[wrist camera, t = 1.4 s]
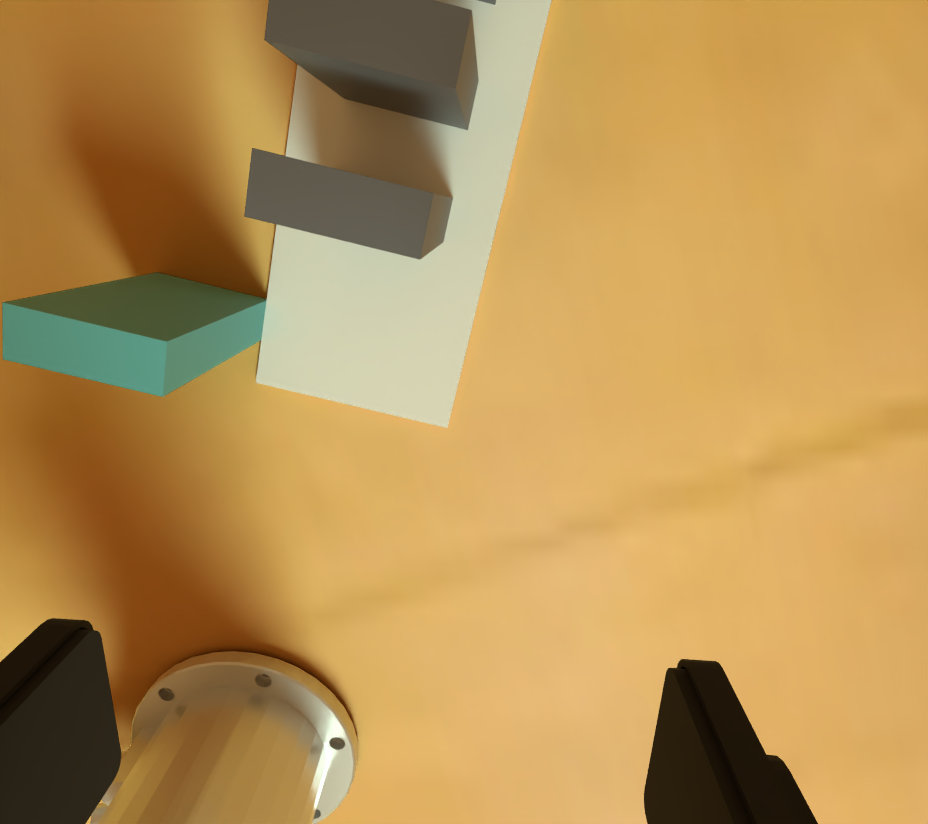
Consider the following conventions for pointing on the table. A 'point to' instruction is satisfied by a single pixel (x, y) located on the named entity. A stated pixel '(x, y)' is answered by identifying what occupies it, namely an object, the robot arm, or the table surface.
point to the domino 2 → (384, 52)
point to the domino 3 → (345, 205)
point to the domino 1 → (133, 331)
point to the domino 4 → (489, 1)
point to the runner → (388, 274)
